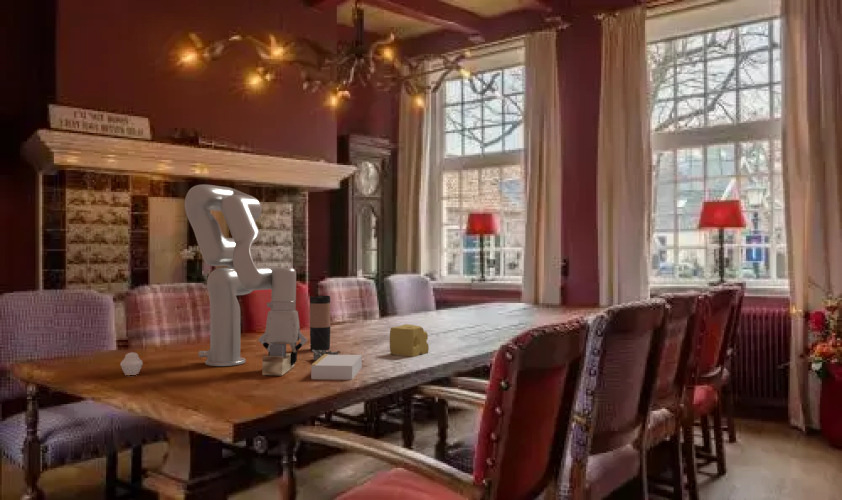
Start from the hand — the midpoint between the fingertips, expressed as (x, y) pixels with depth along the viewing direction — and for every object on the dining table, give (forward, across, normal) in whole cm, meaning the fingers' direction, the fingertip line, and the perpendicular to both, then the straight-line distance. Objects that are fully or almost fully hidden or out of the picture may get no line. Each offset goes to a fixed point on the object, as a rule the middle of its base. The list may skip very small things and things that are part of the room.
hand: (282, 363), depth 203 cm
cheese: (+2, +38, +32) cm, 49 cm away
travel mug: (+2, +4, +40) cm, 40 cm away
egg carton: (+2, +11, +16) cm, 19 cm away
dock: (+1, +18, -5) cm, 19 cm away
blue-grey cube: (-3, 0, -4) cm, 5 cm away
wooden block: (+1, 0, -4) cm, 4 cm away
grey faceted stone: (+3, -42, -12) cm, 44 cm away
